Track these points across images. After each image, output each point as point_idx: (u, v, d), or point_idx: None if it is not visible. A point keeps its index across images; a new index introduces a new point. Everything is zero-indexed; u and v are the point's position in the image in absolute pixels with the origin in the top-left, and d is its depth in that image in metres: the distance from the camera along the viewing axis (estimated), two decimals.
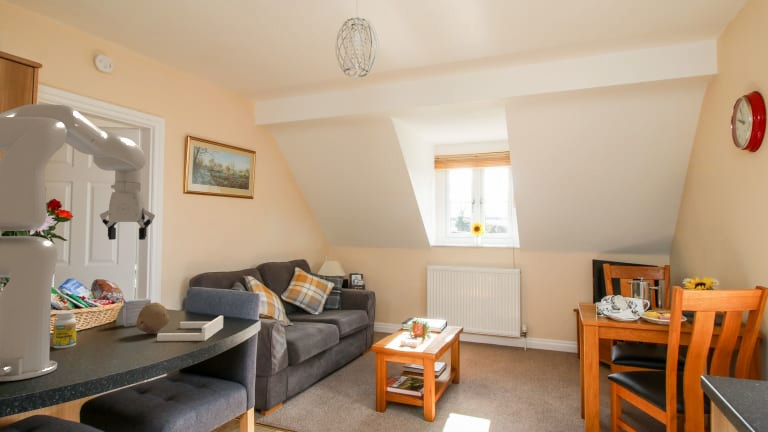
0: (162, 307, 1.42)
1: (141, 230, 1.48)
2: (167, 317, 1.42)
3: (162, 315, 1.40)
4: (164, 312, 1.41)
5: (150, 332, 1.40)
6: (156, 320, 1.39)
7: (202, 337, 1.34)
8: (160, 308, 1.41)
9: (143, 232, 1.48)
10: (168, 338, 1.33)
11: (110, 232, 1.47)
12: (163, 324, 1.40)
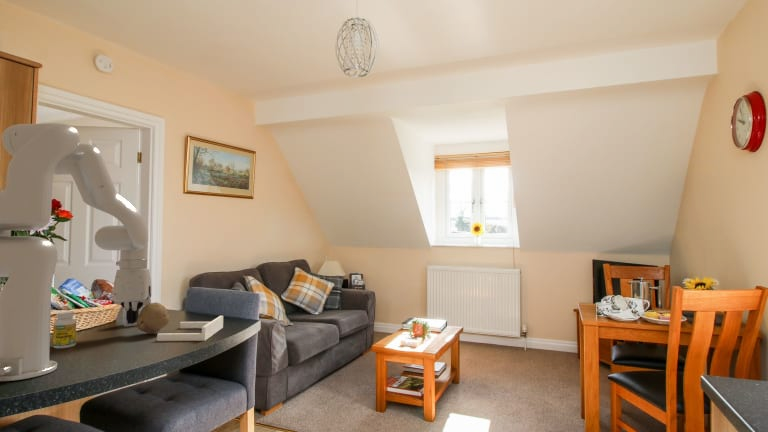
0: (162, 307, 1.42)
1: (133, 313, 1.41)
2: (167, 317, 1.42)
3: (162, 315, 1.40)
4: (164, 312, 1.41)
5: (150, 332, 1.40)
6: (157, 320, 1.39)
7: (202, 337, 1.34)
8: (160, 308, 1.41)
9: (135, 315, 1.41)
10: (168, 338, 1.33)
11: (129, 316, 1.40)
12: (163, 324, 1.40)
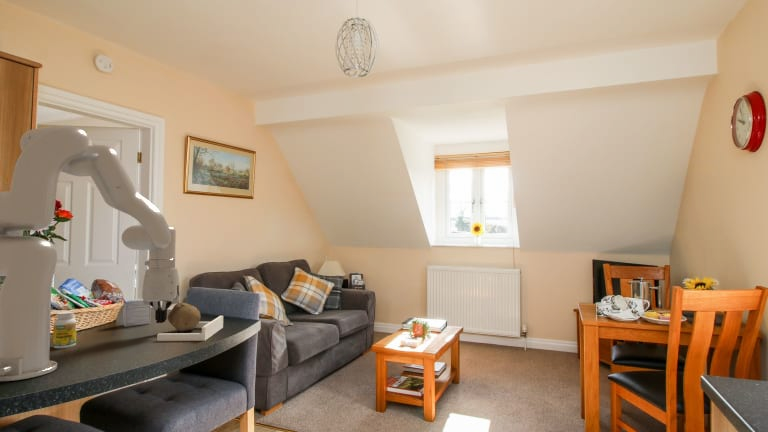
0: (194, 323, 1.45)
1: (162, 313, 1.41)
2: (183, 327, 1.43)
3: (186, 322, 1.43)
4: (189, 324, 1.44)
5: (170, 314, 1.45)
6: (182, 317, 1.42)
7: (202, 337, 1.34)
8: (193, 321, 1.44)
9: (164, 315, 1.42)
10: (168, 338, 1.33)
11: (158, 315, 1.41)
12: (176, 323, 1.42)
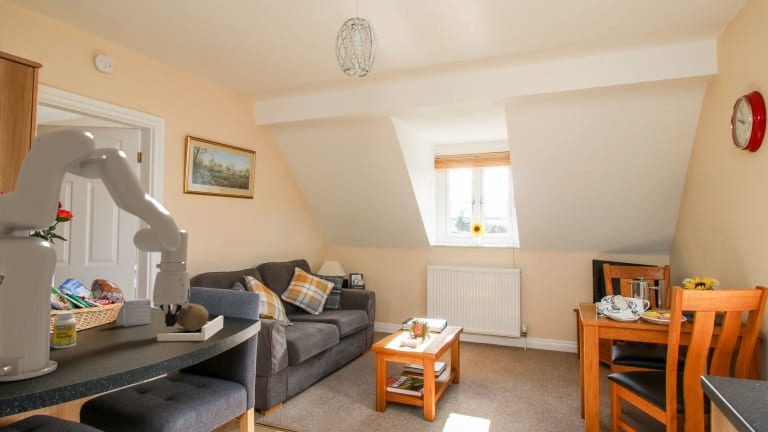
0: (205, 321, 1.47)
1: (172, 316, 1.40)
2: (196, 328, 1.44)
3: (199, 323, 1.44)
4: (201, 324, 1.45)
5: (178, 317, 1.43)
6: (194, 319, 1.43)
7: (202, 337, 1.34)
8: (205, 320, 1.46)
9: (173, 318, 1.41)
10: (168, 338, 1.33)
11: (168, 319, 1.40)
12: (190, 326, 1.42)
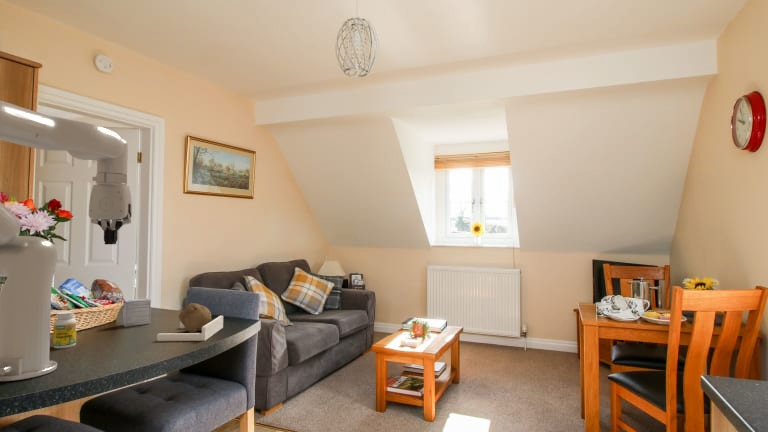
0: None
1: (111, 233, 1.27)
2: (194, 331, 1.44)
3: (198, 327, 1.43)
4: (200, 328, 1.44)
5: (182, 315, 1.44)
6: (194, 322, 1.42)
7: (202, 337, 1.34)
8: None
9: (113, 235, 1.28)
10: (168, 338, 1.33)
11: (106, 236, 1.27)
12: (188, 327, 1.42)
